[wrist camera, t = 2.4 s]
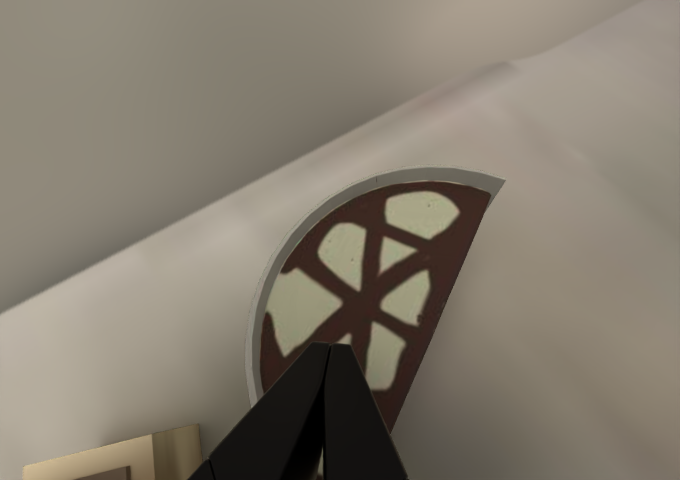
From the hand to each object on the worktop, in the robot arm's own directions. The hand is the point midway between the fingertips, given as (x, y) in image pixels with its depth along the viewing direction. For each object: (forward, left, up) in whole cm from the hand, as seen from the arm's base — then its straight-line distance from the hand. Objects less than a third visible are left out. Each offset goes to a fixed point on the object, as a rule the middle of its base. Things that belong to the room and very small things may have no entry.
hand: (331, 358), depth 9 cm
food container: (+2, -1, -13) cm, 13 cm away
